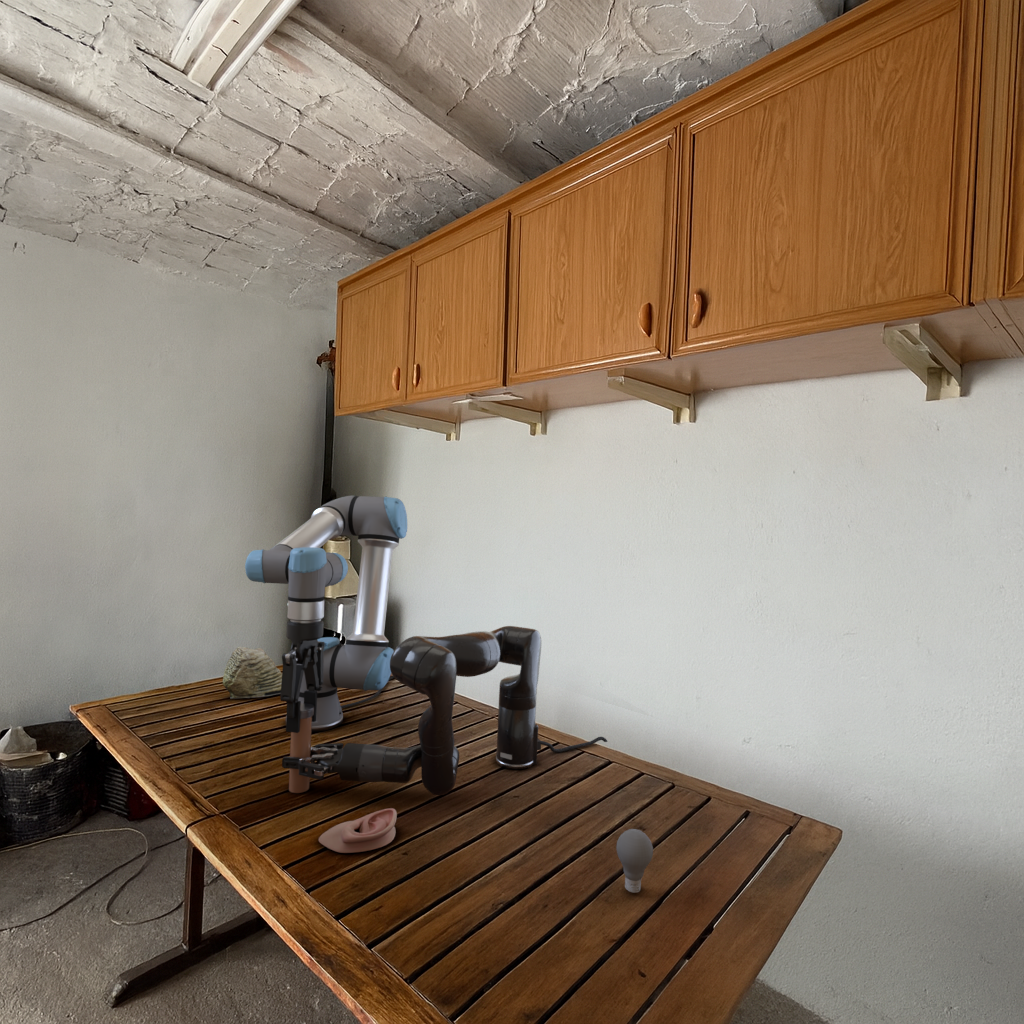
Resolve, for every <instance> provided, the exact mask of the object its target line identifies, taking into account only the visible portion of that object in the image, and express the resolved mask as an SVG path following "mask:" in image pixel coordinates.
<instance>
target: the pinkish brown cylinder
mask: <svg viewBox="0 0 1024 1024" xmlns="http://www.w3.org/2000/svg"><path fill="white" fill-rule="evenodd" d="M311 730H312V716H311V717H309V718H303V719H300V732H298V733H294V732H290V745H289V757H300V758H307V757H310V756H311V747H312V732H311ZM309 763H311V762H309ZM307 772H308V771H307ZM310 782H311V778H310V777H306V776H302V775H299V769H290V768H289V773H288V791H289V792H290V793H292V794H300V793H304V792H307V791H308V790H309V789H310Z"/></svg>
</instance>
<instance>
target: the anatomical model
mask: <svg viewBox="0 0 1024 1024" xmlns="http://www.w3.org/2000/svg"><path fill="white" fill-rule="evenodd" d="M397 816H398V813H397V810H396V809H395V808H392V807H390V808H384V809H380V810H377V811H374V812H371V813H369V814H366V815H364V816H362V817H360V818H357V819H354V820H348V821H343V822H341V823H339V824H335V825H334V826H332V827H330V828H328V830H326V831H324V832H323V833H322V834H321V835H320V836H319V837H318V842H319V843H320V844H321V845H322V846H324V847H325V848H327V849H329V850H332V851H333V852H336V853H339V854H351V853H361V852H367V851H372V850H376V849H380V848H382V847H385V846H387V845H389V844H390V843H392V842H393V840H394V839H395V837H396V833H397V832H396V827H395V825H396V823H397V818H398V817H397Z"/></svg>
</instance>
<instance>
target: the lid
mask: <svg viewBox="0 0 1024 1024" xmlns="http://www.w3.org/2000/svg"><path fill="white" fill-rule="evenodd" d="M313 715H314V705H312V704H306V703H302V704H301V707H300V719H303V718H309V717H311V716H313Z"/></svg>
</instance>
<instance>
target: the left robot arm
mask: <svg viewBox="0 0 1024 1024" xmlns="http://www.w3.org/2000/svg"><path fill="white" fill-rule="evenodd" d="M407 532H408V514H407V510H406V507H405V504H404V501H402V500H401V499H400V498H398V497H392V496H391V497H390V496H369V495H368V496H367V495H346V496H341V497H339V498H336V499H332V500H330V501H328V502H326V503H324V504H322V505H321V506H319V507H318V508H317V509H315V510H314V511H313V512H312V514H311V515H310V518H309V519H308V520H307V521H305V522H304V523H303V524H301V525H300V526H299V527H298V528H296V529H295V530H293V531H292V532H291V533H290V534H288V535H287V536H285V537H284V538H283V539H282V540H280V541H279V542H278V543H277V544H275V545H274V546H272V547H271V548H269V549H253V550H251V551H250V552H249V553H248V555H247V557H246V559H245V565H244V568H245V575H246V577H247V578H248V580H250V581H251V582H253V583H255V582H256V583H263V584H279V585H282V584H283V585H288V591H287V592H288V594H287V604H286V607H287V619H289V620H288V621H287V622H286V638H287V639H288V640H290V641H291V645H290V649H289V651H288V653H284V652H283V653H282V655H281V660H282V672H281V673H282V683H281V693H280V697H279V700H280V701H281V702H286V715H285V732H287V733H291V732H294V733H298V732H300V707H301V704H302V703H306V704H312V705H314V715H313V716H312V730H311V733H316V732H325V731H329V730H332V729H335V728H337V727H339V726H340V725H342V723H343V722H344V714H343V709H345V708H349V707H353V706H357V705H360V704H364V703H366V702H368V701H369V702H370V701H371V700H372V699H375V698H376V697H378V696H379V695H380V694H381V692H382V690H383V689H384V687H385V686H386V685H387V684H388V682H389V681H390V680H392V679H395V677H394V676H393V675H392V673H391V670H390V659H391V656H392V654H393V652H394V649H393V648H391V647H389V642H390V641H389V639H388V638H387V637H386V636H385V627H386V618H387V608H388V600H389V592H390V591H389V590H390V581H391V580H390V579H391V571H392V561H393V551H394V550H395V549H396V548H397V547H399V545H400V540H402V539H404V538H406V537H407ZM340 536H355V537H357V543H358V544H359V545H360V546H361V556H360V565H359V575H358V582H357V591H356V600H355V609H354V617H353V625H352V632H351V634H350V635H348V636H347V637H346V638H345V644H341V641H340V639H339V638H338V637H334V636H325V637H323V636H324V623H325V622H324V620H323V618H324V617H325V591H326V588H327V587H330V586H331V587H333V586H336V585H337V584H339V583H340V582H342V581H343V580H344V579H345V578H346V576H347V575H348V570H349V565H348V561H347V559H346V558H345V557H344V556H343V555H341V554H340V553H338V552H329V551H328V552H326V550H325V549H324V548H322V547H323V546H324V545H325V544H326V543H327V542H328V541H331V540H335V539H337V538H338V537H340ZM338 689H350V690H360V691H361V690H362V691H366V692H367V691H376V692H375V693H374V694H373V695H371V696H369V697H367V698H364V699H360V700H358V701H355V702H350V703H346V704H343V705H341V702H340V699H339V695H338Z"/></svg>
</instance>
